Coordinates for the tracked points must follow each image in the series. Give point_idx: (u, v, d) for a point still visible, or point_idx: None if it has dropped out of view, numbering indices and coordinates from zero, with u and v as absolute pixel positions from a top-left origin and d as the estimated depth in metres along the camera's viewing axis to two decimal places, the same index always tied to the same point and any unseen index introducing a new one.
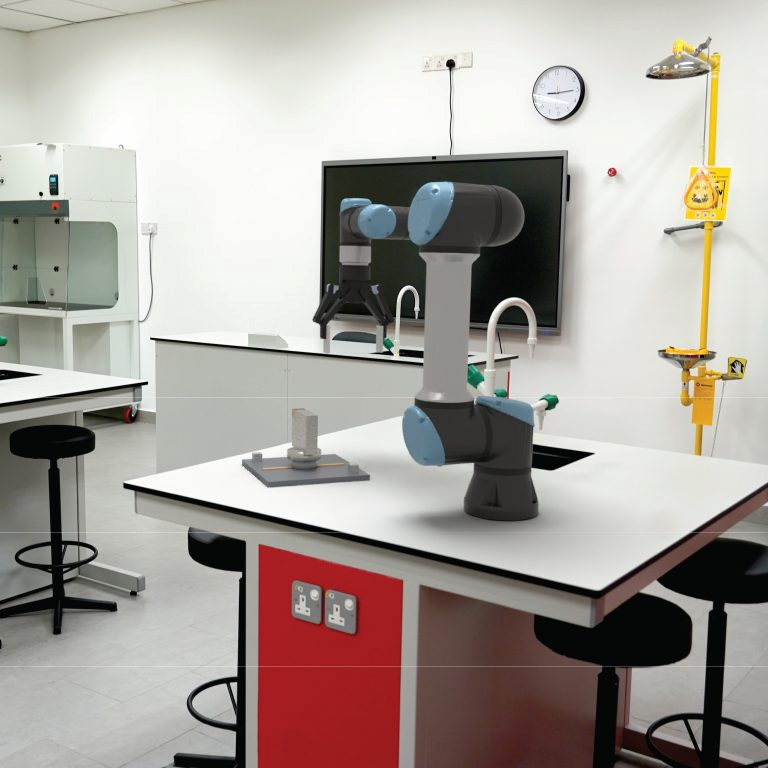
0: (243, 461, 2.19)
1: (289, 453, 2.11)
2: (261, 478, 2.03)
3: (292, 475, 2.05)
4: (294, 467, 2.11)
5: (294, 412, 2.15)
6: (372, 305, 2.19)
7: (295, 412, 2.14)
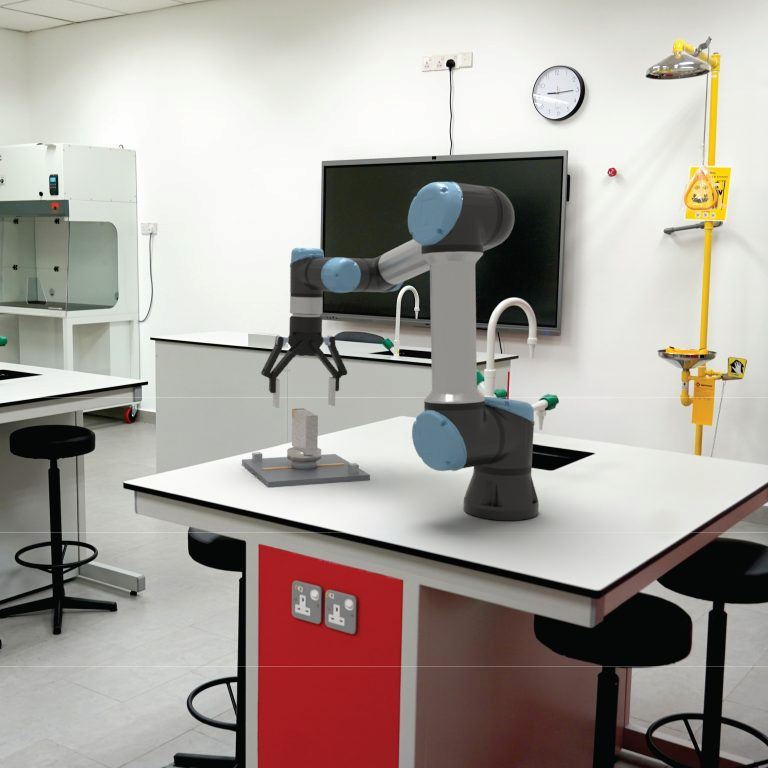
0: (243, 461, 2.19)
1: (289, 453, 2.11)
2: (261, 478, 2.03)
3: (292, 475, 2.05)
4: (294, 467, 2.11)
5: (294, 412, 2.15)
6: (324, 357, 2.11)
7: (295, 412, 2.14)
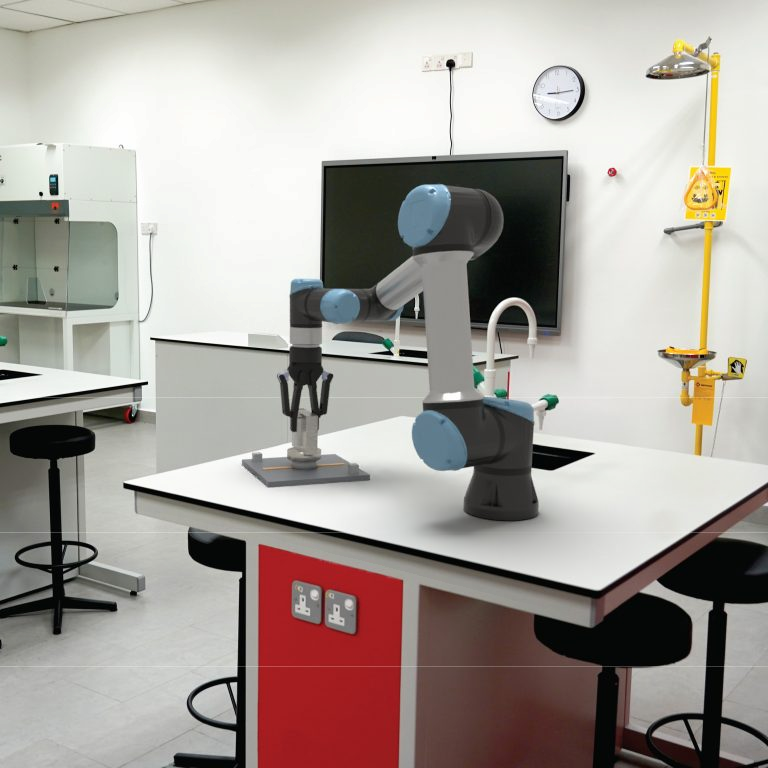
0: (243, 461, 2.19)
1: (289, 453, 2.11)
2: (261, 478, 2.03)
3: (292, 475, 2.05)
4: (294, 467, 2.11)
5: None
6: (315, 392, 2.11)
7: None
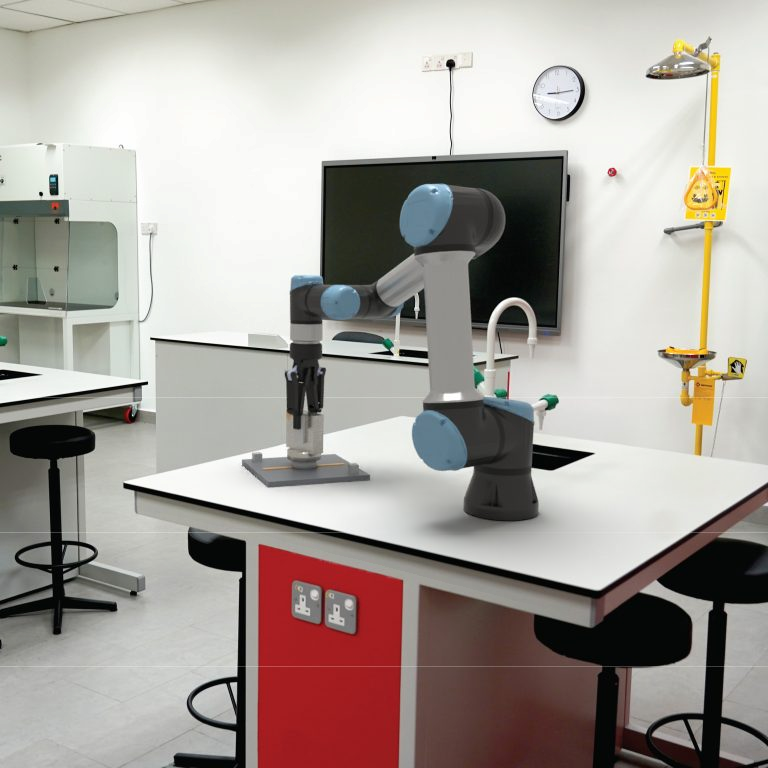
0: (243, 461, 2.19)
1: (292, 454, 2.10)
2: (261, 478, 2.03)
3: (292, 475, 2.05)
4: (294, 467, 2.11)
5: None
6: (315, 387, 2.12)
7: None
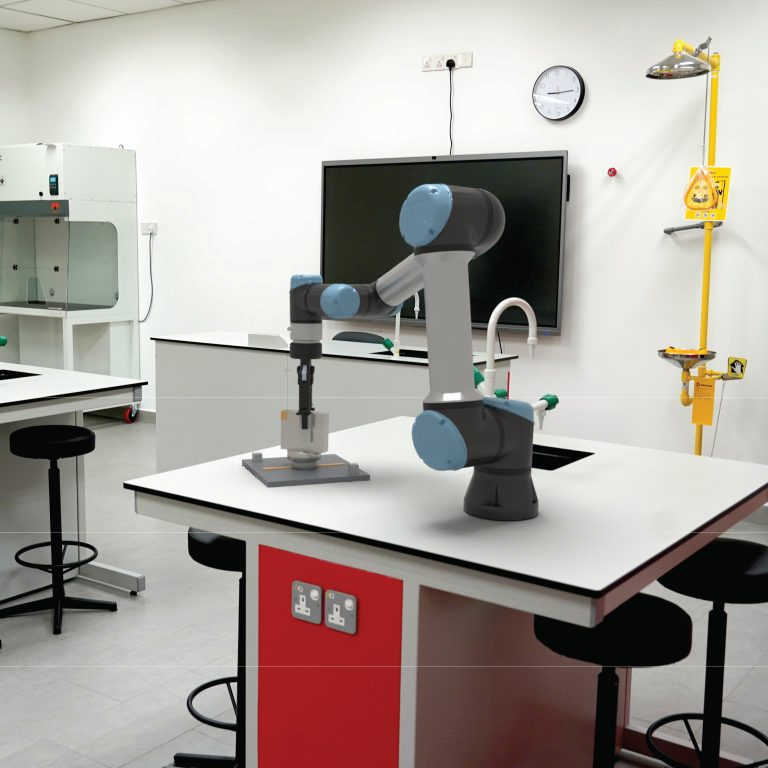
0: (243, 461, 2.19)
1: (300, 455, 2.09)
2: (261, 478, 2.03)
3: (292, 475, 2.05)
4: (294, 467, 2.11)
5: (288, 414, 2.12)
6: (311, 386, 2.14)
7: (291, 414, 2.12)
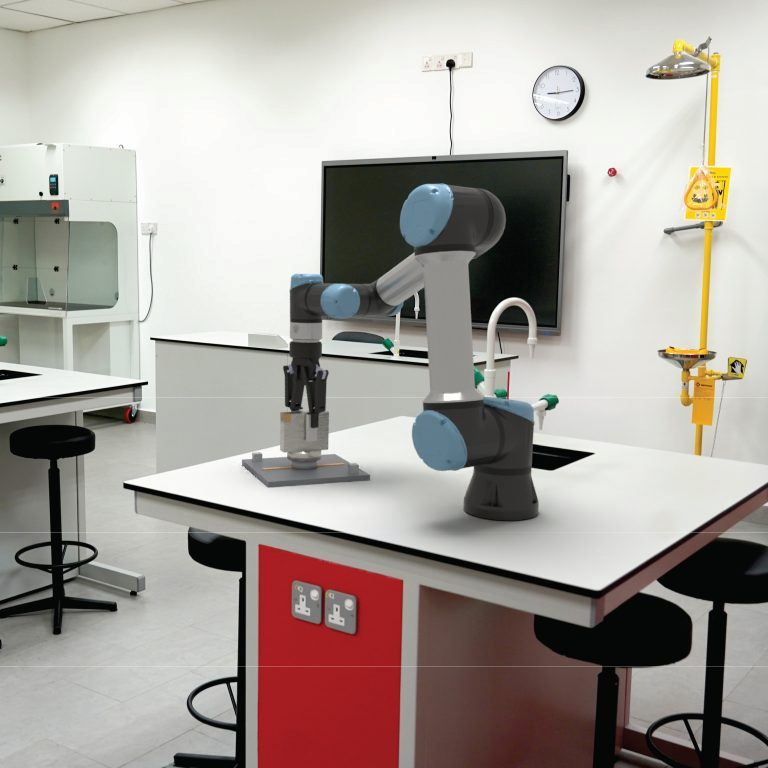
0: (243, 461, 2.19)
1: (313, 454, 2.10)
2: (261, 478, 2.03)
3: (292, 475, 2.05)
4: (294, 467, 2.11)
5: (292, 416, 2.09)
6: None
7: (295, 415, 2.10)
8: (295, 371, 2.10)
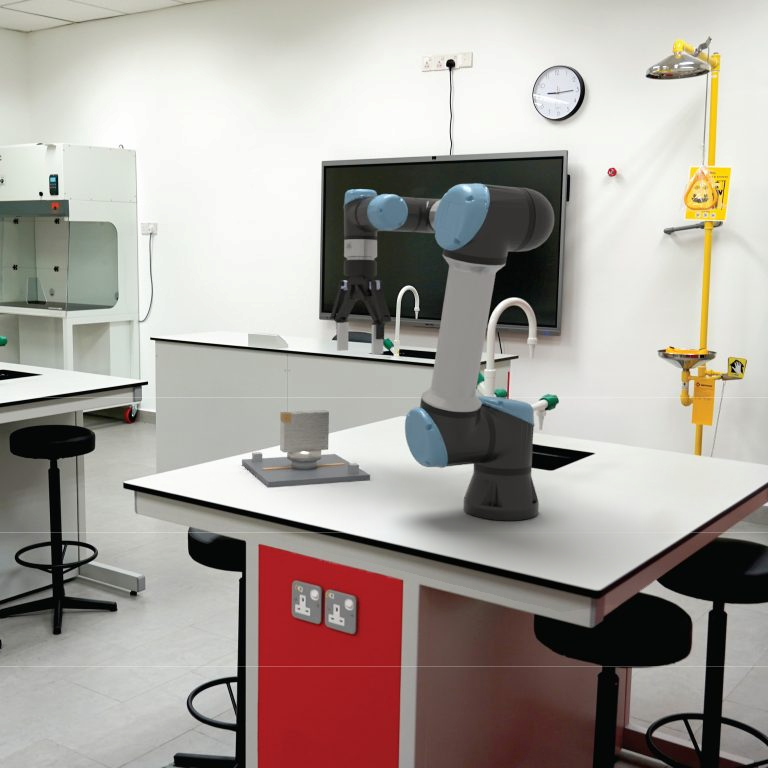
0: (243, 461, 2.19)
1: (313, 454, 2.10)
2: (261, 478, 2.03)
3: (292, 475, 2.05)
4: (294, 467, 2.11)
5: (292, 416, 2.09)
6: None
7: (295, 415, 2.10)
8: (349, 290, 2.07)
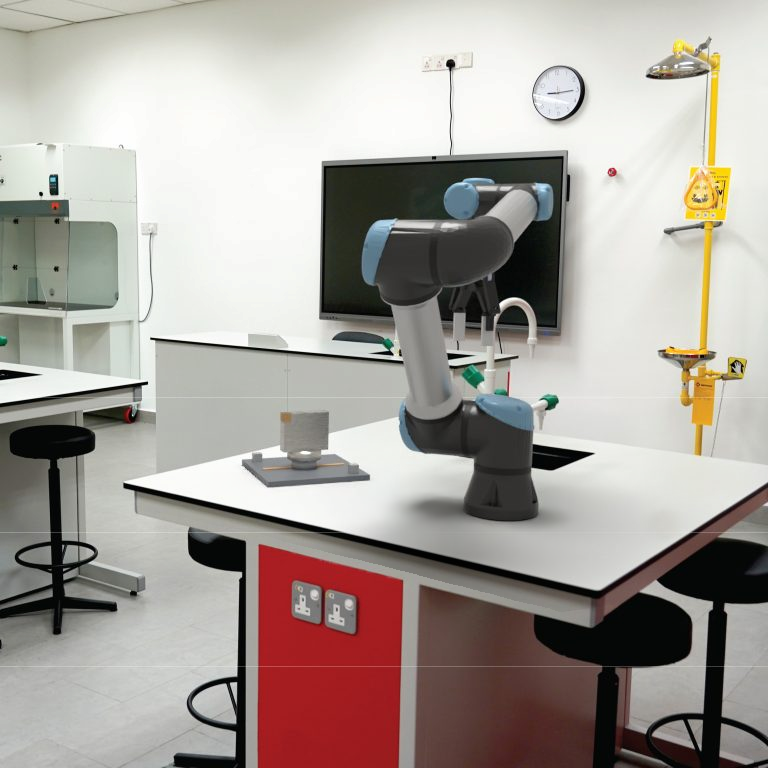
0: (243, 461, 2.19)
1: (313, 454, 2.10)
2: (261, 478, 2.03)
3: (292, 475, 2.05)
4: (294, 467, 2.11)
5: (292, 416, 2.09)
6: None
7: (295, 415, 2.10)
8: None
